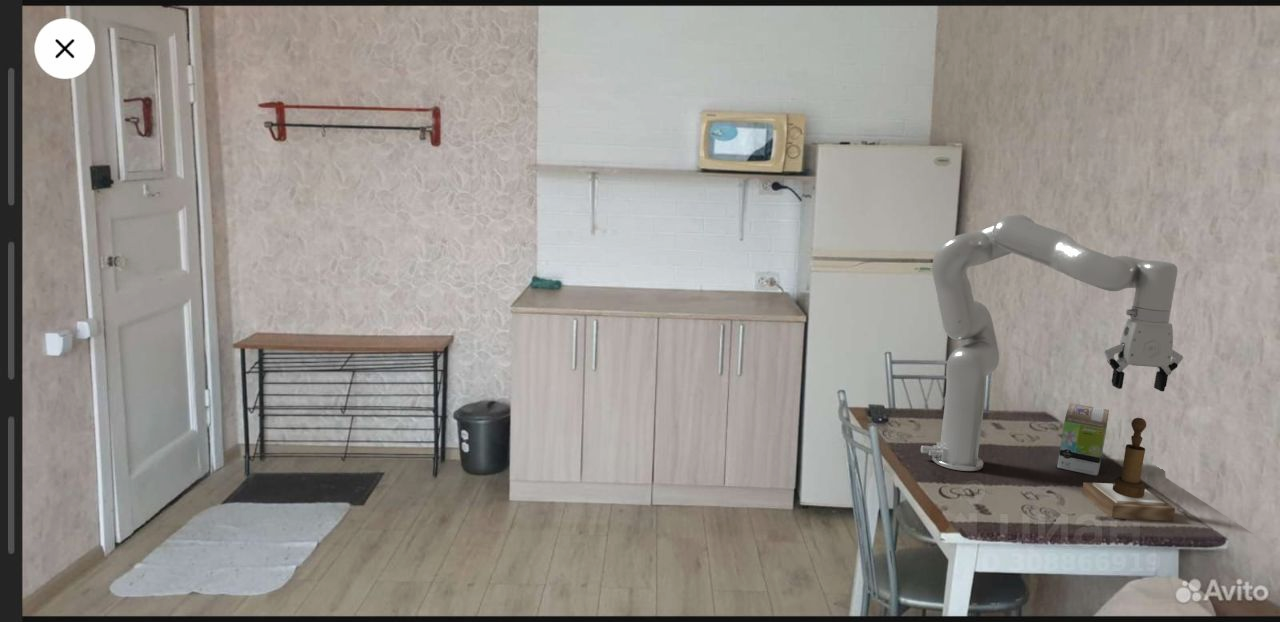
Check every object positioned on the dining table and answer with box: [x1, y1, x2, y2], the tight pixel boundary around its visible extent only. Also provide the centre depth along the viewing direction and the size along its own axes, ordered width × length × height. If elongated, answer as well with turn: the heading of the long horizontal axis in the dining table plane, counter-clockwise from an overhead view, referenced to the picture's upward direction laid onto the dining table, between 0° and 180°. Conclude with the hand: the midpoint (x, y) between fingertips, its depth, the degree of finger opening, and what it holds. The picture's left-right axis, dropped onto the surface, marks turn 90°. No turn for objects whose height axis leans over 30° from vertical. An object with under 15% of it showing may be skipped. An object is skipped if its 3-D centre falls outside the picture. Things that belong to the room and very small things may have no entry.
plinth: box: [1081, 481, 1176, 522], centre depth 208 cm, size 14×14×4 cm
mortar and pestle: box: [1112, 417, 1147, 498], centre depth 206 cm, size 7×6×18 cm
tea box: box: [1056, 402, 1110, 477], centre depth 236 cm, size 15×10×15 cm, turn 151°
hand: (1137, 388), depth 205 cm, fingers open, 9 cm apart
